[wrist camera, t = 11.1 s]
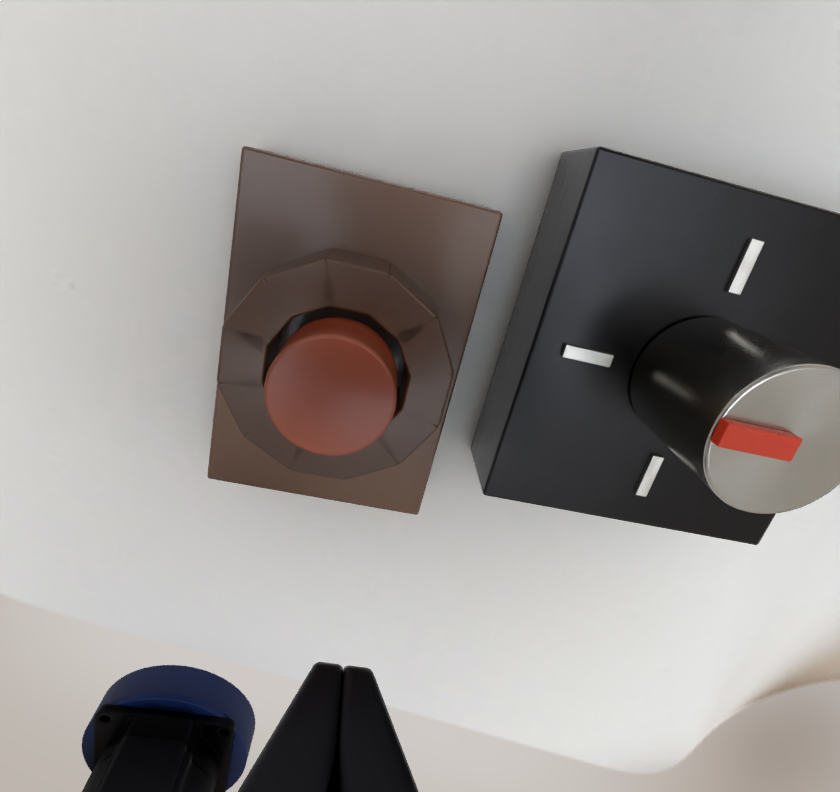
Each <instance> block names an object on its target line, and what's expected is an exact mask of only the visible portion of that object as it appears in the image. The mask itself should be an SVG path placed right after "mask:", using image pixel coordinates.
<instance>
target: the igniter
mask: <svg viewBox="0 0 840 792" xmlns="http://www.w3.org/2000/svg"><path fill="white" fill-rule="evenodd" d="M501 219H502V213H501V212H499V211H496V210H493V209H490V208H487V207H483V206H479V205H475V204H471V203H467V202H463V201H459V200H455V199H452V198H448V197H444V196H440V195H436V194H432V193H428V192H424V191H420V190H417V189H413V188H409V187H405V186H401V185H397V184H393V183H389V182H385V181H382V180H378V179H374V178H370V177H366V176H362V175H358V174H354V173H350V172H347V171H343V170H339V169H335V168H331V167H327V166H323V165H319V164H315V163H312V162H308V161H304V160H300V159H296V158H292V157H288V156H284V155H280V154H277V153H273V152H269V151H265V150H261V149H256V148H251V147H246V146H245V147H243V148H242V153H241V162H240V172H239V181H238V191H237V201H236V210H235V220H234V229H233V239H232V248H231V258H230V267H229V277H228V286H227V296H226V305H225V315H224V324H223V327H222V337H221V346H220V356H219V365H218V375H217V391H216V400H215V410H214V419H213V429H212V438H211V448H210V458H209V467H208V478H210V479H216V480H222V481H227V482H233V483H239V484H244V485H250V486H256V487H261V488H267V489H273V490H279V491H284V492H290V493H296V494H301V495H307V496H313V497H318V498H324V499H330V500H335V501H341V502H347V503H353V504H358V505H364V506H370V507H375V508H381V509H387V510H392V511H398V512H404V513H409V514H415V515H416V514H418V513H419V509H420V505H421V502H422V498H423V495H424V491H425V488H426V484H427V481H428V477H429V474H430V470H431V467H432V463H433V460H434V456H435V452H436V449H437V445H438V442H439V438H440V435H441V431H442V428H443V424H444V421H445V417H446V414H447V410H448V406H449V403H450V399H451V396H452V392H453V389H454V385H455V382H456V378H457V375H458V371H459V368H460V364H461V361H462V357H463V353H464V350H465V346H466V343H467V339H468V336H469V332H470V329H471V325H472V322H473V318H474V315H475V311H476V307H477V304H478V300H479V297H480V293H481V290H482V286H483V283H484V279H485V276H486V272H487V269H488V265H489V262H490V258H491V254H492V251H493V247H494V244H495V240H496V237H497V233H498V230H499V226H500V223H501ZM327 317H342V318H348V319H352V320H355V321H358V322H360V323H363V324H365V325H366V326H368V327H370V328H371V329H373V330H374V331H375V332H376V333H378V334H379V335H380V336H381V337H382V338H383V340H384V341H385V342H386V344H387V345H388V347H389V349H390V350H391V352H392V355H393V357H394V360H395V364H396V372H397V404H396V409H395V413H394V416H393V419H392V421H391V423H390V425H389V426H388V428H387V429H386V431H385V432H384V433H383V434H382V435H381V436H380V437H379V438H378V439H377V440H376V441H375V442H374V443H372V444H371V445H369V446H367V447H366V448H364V449H362V450H359V451H357V452H354V453H350V454H346V455H337V456H328V455H320V454H316V453H312V452H309V451H307V450H304V449H302V448H300V447H298V446H296V445H295V444H293V443H292V442H290V441H289V440H288V439H287V438H285V437H284V436H283V435H282V434H281V433H280V432H279V430H278V429H277V428H276V426H275V425H274V424H273V422H272V420H271V418H270V416H269V414H268V411H267V408H266V404H265V400H264V383H265V379H266V375H267V372H268V370H269V367H270V366H271V364H272V362H273V360H274V359H275V357H276V356H277V354H278V353H279V351H280V350H281V348H282V347H283V345H284V344H285V342H286V341H287V339H288V338H289V337H290V336H291V335H292V334H293V333H294V332H295V331H296V330H297V329H299V328H300V327H301V326H303V325H305V324H307V323H309V322H311V321H314V320H317V319H321V318H327Z"/></svg>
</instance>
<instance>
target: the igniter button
mask: <svg viewBox="0 0 840 792" xmlns="http://www.w3.org/2000/svg"><path fill="white" fill-rule="evenodd" d="M264 400H265V404H266V408H267V411H268V414H269V416H270V418H271V420H272V422H273V424H274V425H275V426H276V428H277V429H278V430H279V432H280V433H281V434H282V435H283V436H284V437H285V438H287V439H288V440H289V441H290V442H292V443H293V444H295V445H296V446H298V447H300V448H302V449H304V450H307V451H309V452H312V453H316V454H320V455H328V456H337V455H346V454H350V453H354V452H357V451H359V450H362V449H364V448H366V447H367V446H369V445H371V444H372V443H374V442H375V441H376V440H377V439H378V438H379V437H380V436H381V435H382V434H383V433H384V432H385V431H386V429H387V428H388V426H389V425H390V423H391V421H392V419H393V416H394V413H395V409H396V404H397V372H396V364H395V360H394V357H393V355H392V352H391V350H390V349H389V347H388V345H387V344H386V342H385V341H384V340H383V338H382V337H381V336H380V335H379V334H378V333H376V332H375V331H374V330H373V329H371V328H370V327H368V326H366V325H365V324H363V323H360V322H358V321H355V320H352V319H348V318H342V317H327V318H321V319H317V320H314V321H311V322H309V323H307V324H305V325H303V326H301V327H300V328H299V329H297V330H296V331H295V332H294V333H293V334H292V335H291V336H290V337H289V338H288V339H287V341H286V342H285V344H284V345H283V347H282V348H281V350H280V351H279V353H278V354H277V356H276V357H275V359H274V360H273V362H272V364H271V366H270V367H269V370H268V372H267V375H266V379H265V383H264Z"/></svg>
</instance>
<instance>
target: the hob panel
mask: <svg viewBox="0 0 840 792" xmlns="http://www.w3.org/2000/svg"><path fill="white" fill-rule="evenodd" d="M703 317H714V318H720V319H724V320H727V321H730V322H733V323H735V324H737V325H740V326H742V327H744V328H746V329H749V330H751V331H753V332H756V333H758V334H760V335H763V336H765V337H767V338H770V339H772V340H774V341H776V342H779V343H781V344H783V345H786V346H788V347H790V348H793V349H795V350H797V351H800V352H802V353H804V354H807V355H809V356H811V357H813V358H816V359H818V360H820V361H823V362H825V363H827V364H830V365H832V366H834V367H837V368H839V369H840V214H839V213H836V212H832V211H829V210H825V209H821V208H818V207H814V206H811V205H807V204H804V203H800V202H797V201H793V200H789V199H786V198H782V197H779V196H775V195H772V194H768V193H764V192H761V191H757V190H754V189H750V188H747V187H743V186H740V185H736V184H732V183H729V182H725V181H722V180H718V179H715V178H711V177H708V176H704V175H700V174H697V173H693V172H690V171H686V170H683V169H679V168H675V167H672V166H668V165H665V164H661V163H658V162H654V161H651V160H647V159H643V158H640V157H636V156H633V155H629V154H626V153H622V152H619V151H615V150H611V149H608V148H604V147H595V148H588V149H581V150H574V151H567V152H563V153H562V156H561V159H560V162H559V165H558V168H557V172H556V175H555V178H554V181H553V185H552V188H551V191H550V194H549V198H548V201H547V204H546V207H545V210H544V214H543V217H542V220H541V223H540V227H539V230H538V233H537V236H536V240H535V243H534V246H533V249H532V252H531V256H530V259H529V262H528V265H527V269H526V272H525V275H524V278H523V281H522V285H521V288H520V291H519V294H518V298H517V301H516V304H515V307H514V311H513V314H512V317H511V320H510V323H509V327H508V330H507V333H506V336H505V340H504V343H503V346H502V349H501V353H500V356H499V359H498V362H497V365H496V369H495V372H494V375H493V378H492V382H491V385H490V388H489V391H488V395H487V398H486V401H485V404H484V407H483V411H482V414H481V417H480V420H479V424H478V427H477V430H476V433H475V436H474V440H473V443H472V446H471V452H472V455H473V459H474V462H475V466H476V470H477V473H478V477H479V480H480V484H481V487H482V491H483V494H484V495H487V496H493V497H498V498H504V499H509V500H515V501H520V502H526V503H531V504H536V505H542V506H547V507H553V508H558V509H564V510H569V511H574V512H580V513H585V514H591V515H596V516H602V517H607V518H613V519H618V520H623V521H629V522H634V523H640V524H645V525H651V526H656V527H662V528H667V529H672V530H678V531H683V532H689V533H694V534H700V535H705V536H710V537H716V538H721V539H727V540H732V541H738V542H743V543H749V544H754V545H757V544H758V543H759V542H760V540H761V538H762V537H763V535H764V533H765V531H766V530H767V528H768V526H769V525H770V523H771V521H772V519H773V518H774V516H775V514H776V513H773V514H758V513H750V512H746V511H743V510H739V509H737V508H734V507H732V506H730V505H728V504H727V503H725V502H724V501H722V500H721V499H720V498H719V497H718V496H717V495H716V494H715V493H714V492H713V491H712V490H711V489H710V488H709V487H708V486H707V485H706V484H705V483H704V482H703V481H701V480H700V479H699V478H698V477H697V476H696V475H695V474H694V473H693V472H692V471H691V470H690V469H689V468H688V467H687V466H686V465H685V464H684V463H683V462H682V461H681V460H680V459H679V458H678V457H677V456H676V455H675V454H674V453H673V452H672V451H671V450H670V449H669V448H668V447H667V446H666V445H665V444H664V443H663V442H662V441H661V440H660V439H659V438H658V437H657V436H656V435H655V434H654V433H653V432H652V431H651V430H650V429H649V428H648V427H647V426H646V425H645V424H644V423H643V422H642V421H641V420H640V418H639V417H638V415H637V414H636V412H635V410H634V407H633V405H632V400H631V392H630V387H631V378H632V374H633V371H634V368H635V365H636V363H637V361H638V359H639V357H640V356H641V354H642V353H643V351H644V350H645V349H646V347H647V346H648V345H649V344H650V343H651V342H652V341H653V340H654V339H655V338H656V337H657V336H659V335H660V334H661V333H662V332H664V331H665V330H667V329H669V328H670V327H672V326H674V325H676V324H678V323H681V322H684V321H687V320H691V319H695V318H703Z"/></svg>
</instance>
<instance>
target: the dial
mask: <svg viewBox="0 0 840 792" xmlns="http://www.w3.org/2000/svg"><path fill="white" fill-rule="evenodd" d="M630 392H631V400H632V405H633V407H634V410H635V412H636V414H637V415H638V417H639V418H640V420H641V421H642V422H643V423H644V424H645V425H646V426H647V427H648V428H649V429H650V430H651V431H652V432H653V433H654V434H655V435H656V436H657V437H658V438H659V439H660V440H661V441H662V442H663V443H664V444H665V445H666V446H667V447H668V448H669V449H670V450H671V451H672V452H673V453H674V454H675V455H676V456H677V457H678V458H679V459H680V460H681V461H682V462H683V463H684V464H685V465H686V466H687V467H688V468H689V469H690V470H691V471H692V472H693V473H694V474H695V475H696V476H697V477H698V478H699V479H700V480H701V481H703V482H704V483H705V484H706V485H707V486H708V487H709V488H710V489H711V490H712V491H713V492H714V493H715V494H716V495H717V496H718V497H719V498H720V499H721V500H722V501H724V502H725V503H727V504H728V505H730V506H732V507H734V508H737V509H739V510H743V511H746V512H750V513H758V514H773V513H781V512H786V511H791V510H794V509H797V508H800V507H803V506H805V505H807V504H810V503H812V502H814V501H816V500H817V499H819V498H821V497H823V496H824V495H826V494H827V493H829V492H830V491H831V490H833V489H834V488H835V487H836V486H838V485H839V484H840V369H839V368H837V367H834V366H832V365H830V364H827V363H825V362H823V361H820V360H818V359H816V358H813V357H811V356H809V355H807V354H804V353H802V352H800V351H797V350H795V349H793V348H790V347H788V346H786V345H783V344H781V343H779V342H776V341H774V340H772V339H770V338H767V337H765V336H763V335H760V334H758V333H756V332H753V331H751V330H749V329H746V328H744V327H742V326H740V325H737V324H735V323H733V322H730V321H727V320H724V319H720V318H714V317H703V318H695V319H691V320H687V321H684V322H681V323H678V324H676V325H674V326H672V327H670V328H669V329H667V330H665V331H664V332H662V333H661V334H660V335H659V336H657V337H656V338H655V339H654V340H653V341H652V342H651V343H650V344H649V345H648V346H647V347H646V349H645V350H644V351H643V353H642V354H641V356H640V357H639V359H638V361H637V363H636V365H635V368H634V371H633V374H632V378H631V387H630Z"/></svg>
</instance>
